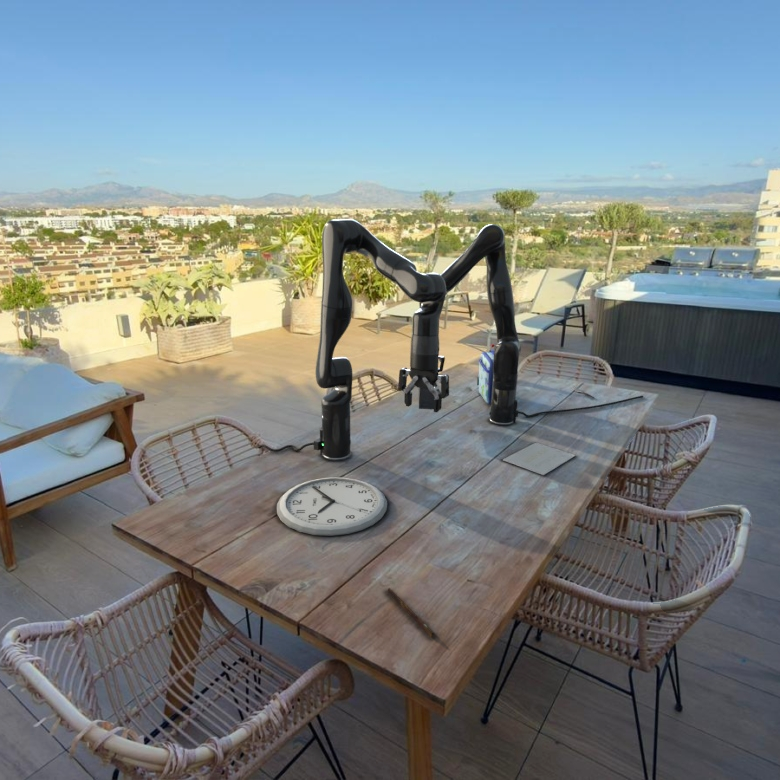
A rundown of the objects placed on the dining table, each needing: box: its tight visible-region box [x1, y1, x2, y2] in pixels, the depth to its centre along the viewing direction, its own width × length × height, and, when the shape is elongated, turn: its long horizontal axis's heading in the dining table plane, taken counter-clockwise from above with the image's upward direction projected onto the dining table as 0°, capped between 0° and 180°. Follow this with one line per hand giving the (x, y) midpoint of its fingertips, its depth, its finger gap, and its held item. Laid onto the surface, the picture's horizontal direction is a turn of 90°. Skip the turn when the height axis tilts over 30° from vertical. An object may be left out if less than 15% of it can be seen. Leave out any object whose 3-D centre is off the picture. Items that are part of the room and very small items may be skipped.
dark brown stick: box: [386, 587, 434, 638], centre depth 103 cm, size 15×1×1 cm, turn 34°
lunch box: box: [476, 350, 494, 406], centre depth 230 cm, size 26×11×21 cm, turn 179°
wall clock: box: [276, 476, 388, 537], centre depth 142 cm, size 30×2×30 cm
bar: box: [418, 386, 435, 410], centre depth 203 cm, size 24×6×9 cm, turn 177°
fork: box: [572, 384, 595, 399], centre depth 243 cm, size 3×16×2 cm, turn 16°
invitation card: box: [502, 442, 577, 476], centre depth 174 cm, size 21×1×15 cm
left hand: (422, 408), depth 143 cm, fingers open, 8 cm apart
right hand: (426, 381), depth 211 cm, fingers closed on bar, 6 cm apart
